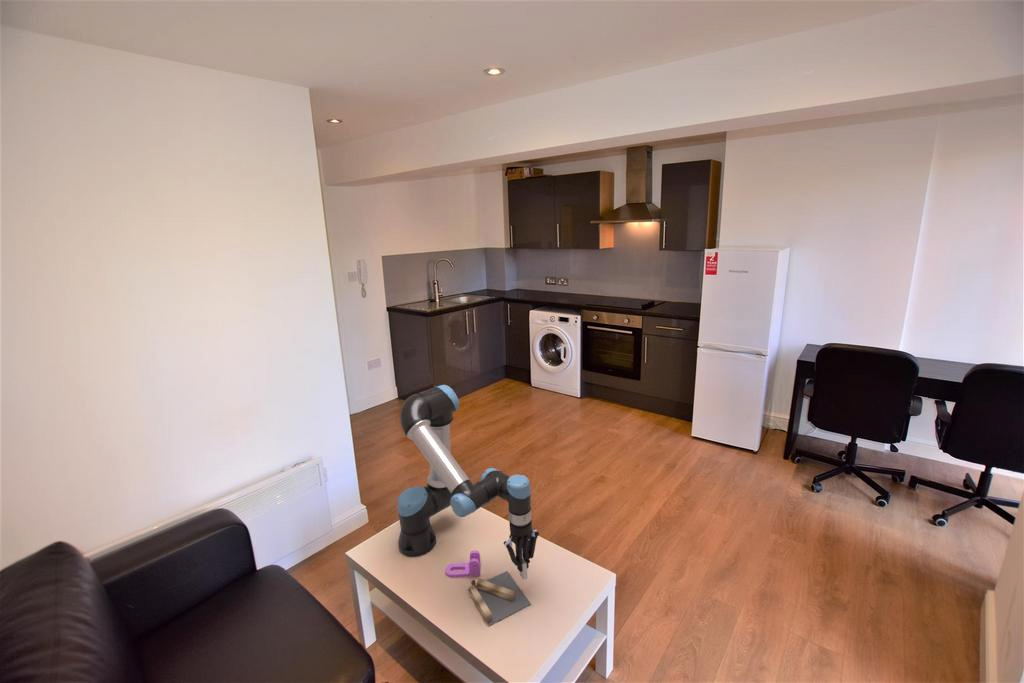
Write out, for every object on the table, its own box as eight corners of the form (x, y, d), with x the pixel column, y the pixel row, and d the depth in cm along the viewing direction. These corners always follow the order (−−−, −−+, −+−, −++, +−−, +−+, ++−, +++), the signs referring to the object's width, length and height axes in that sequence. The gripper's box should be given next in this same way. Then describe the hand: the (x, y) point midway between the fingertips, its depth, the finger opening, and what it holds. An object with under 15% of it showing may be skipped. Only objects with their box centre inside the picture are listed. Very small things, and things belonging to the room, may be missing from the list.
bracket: (480, 564, 174) (479, 549, 172) (480, 576, 168) (478, 561, 166) (446, 566, 173) (444, 551, 171) (444, 578, 168) (443, 563, 166)
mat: (467, 589, 162) (467, 589, 162) (507, 571, 170) (507, 570, 170) (489, 626, 148) (489, 625, 148) (531, 604, 155) (531, 603, 155)
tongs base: (467, 590, 162) (466, 582, 161) (475, 586, 163) (474, 579, 162) (486, 623, 149) (486, 615, 148) (495, 619, 150) (494, 611, 149)
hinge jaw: (476, 588, 162) (476, 582, 161) (479, 584, 164) (479, 578, 163) (512, 601, 156) (512, 595, 155) (514, 597, 158) (514, 591, 157)
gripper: (508, 533, 147) (512, 592, 154) (542, 518, 153) (545, 575, 160) (498, 520, 153) (502, 577, 160) (531, 506, 159) (533, 562, 166)
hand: (523, 576), depth 160 cm, fingers closed
